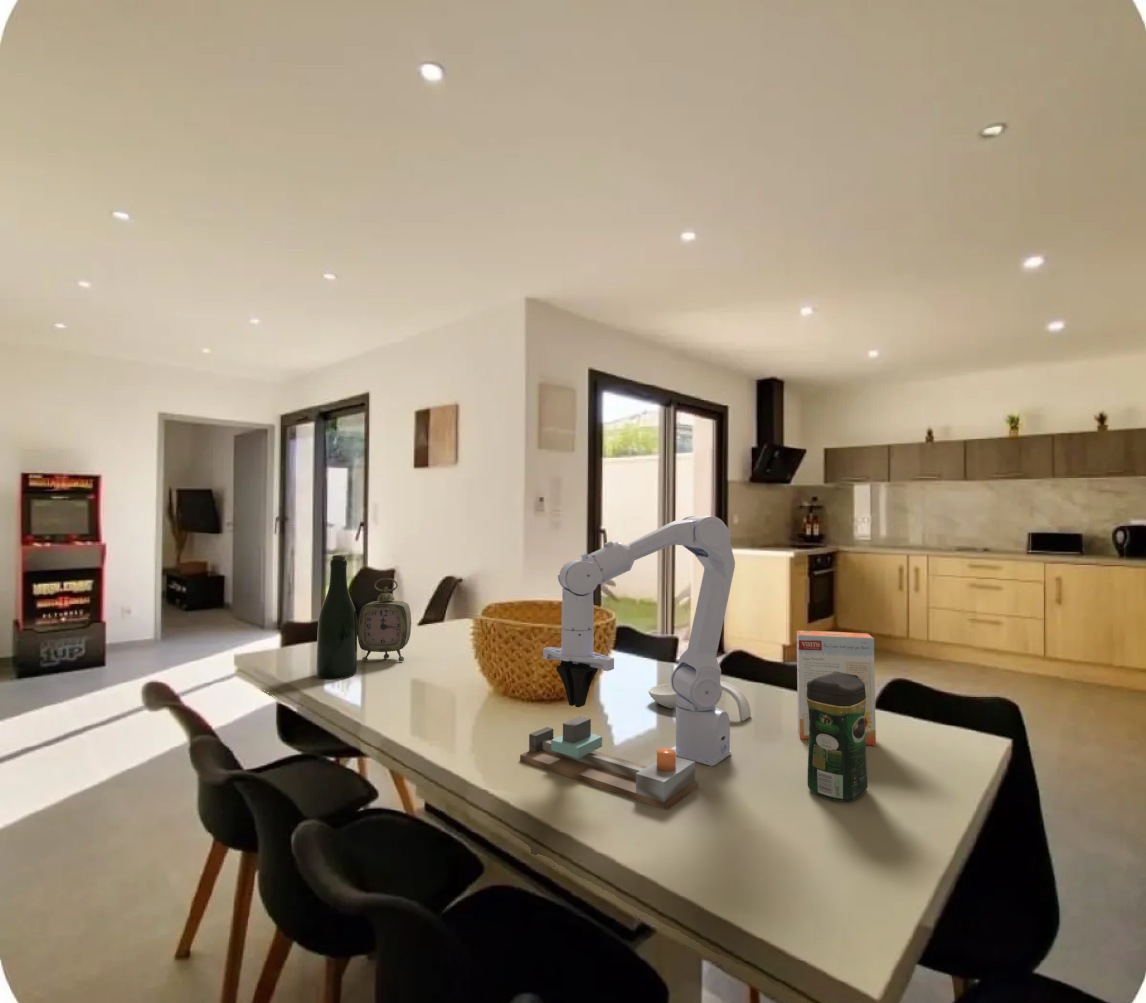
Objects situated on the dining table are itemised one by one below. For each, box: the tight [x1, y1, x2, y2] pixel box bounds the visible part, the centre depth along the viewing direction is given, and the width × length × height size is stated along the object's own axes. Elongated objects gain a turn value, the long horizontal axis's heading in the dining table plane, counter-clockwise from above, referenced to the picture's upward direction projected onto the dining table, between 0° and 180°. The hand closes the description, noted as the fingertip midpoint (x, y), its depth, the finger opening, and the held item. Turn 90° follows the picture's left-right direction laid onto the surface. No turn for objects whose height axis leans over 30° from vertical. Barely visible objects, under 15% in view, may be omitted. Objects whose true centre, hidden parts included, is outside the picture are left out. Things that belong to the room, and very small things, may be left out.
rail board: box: [519, 726, 699, 811], centre depth 106 cm, size 30×10×4 cm, turn 52°
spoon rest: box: [648, 680, 752, 722], centre depth 142 cm, size 24×12×7 cm, turn 55°
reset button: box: [656, 747, 677, 771], centre depth 98 cm, size 3×3×2 cm
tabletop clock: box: [357, 577, 412, 663], centre depth 188 cm, size 14×9×25 cm, turn 95°
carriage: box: [551, 716, 603, 758], centre depth 109 cm, size 6×7×5 cm
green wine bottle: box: [315, 554, 358, 680], centre depth 170 cm, size 10×10×33 cm
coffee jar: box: [807, 671, 869, 803], centre depth 100 cm, size 10×8×19 cm
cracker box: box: [796, 630, 877, 746], centre depth 124 cm, size 14×6×21 cm, turn 74°
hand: (577, 705), depth 109 cm, fingers closed
